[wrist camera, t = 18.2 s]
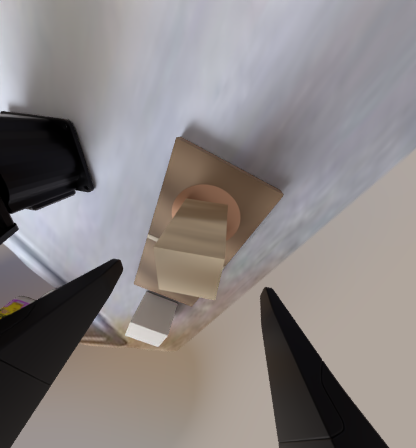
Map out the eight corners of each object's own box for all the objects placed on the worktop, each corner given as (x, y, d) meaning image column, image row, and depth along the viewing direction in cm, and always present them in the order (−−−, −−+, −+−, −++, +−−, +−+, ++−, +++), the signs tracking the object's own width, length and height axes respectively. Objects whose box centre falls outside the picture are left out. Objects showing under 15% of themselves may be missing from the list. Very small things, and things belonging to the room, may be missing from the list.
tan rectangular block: (186, 198, 14) (153, 246, 8) (227, 204, 14) (224, 259, 8) (185, 232, 16) (158, 289, 10) (221, 238, 16) (214, 300, 10)
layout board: (180, 136, 12) (176, 137, 11) (280, 190, 14) (284, 195, 13) (137, 277, 24) (133, 284, 23) (193, 299, 25) (191, 307, 24)
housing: (146, 291, 26) (130, 322, 22) (177, 303, 27) (167, 335, 23) (140, 306, 29) (125, 335, 25) (168, 316, 30) (158, 346, 26)
